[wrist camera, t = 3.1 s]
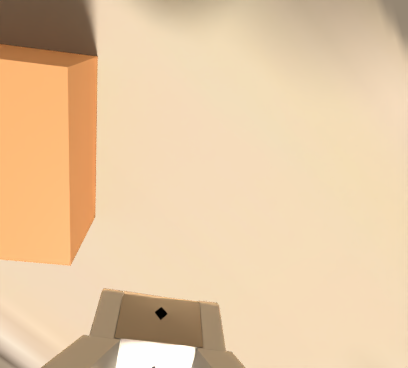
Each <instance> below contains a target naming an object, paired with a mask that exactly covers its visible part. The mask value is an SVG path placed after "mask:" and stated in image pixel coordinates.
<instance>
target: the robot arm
mask: <svg viewBox="0 0 408 368" xmlns="http://www.w3.org/2000/svg"><path fill="white" fill-rule="evenodd" d="M41 368H245V367H244V365H243V364H242V363H241V362H240V361H239V360H238V359H237V358H236V356H235V355H234V354H233V353H232V352H229V351H226V349H225V342H224V335H223V329H222V322H221V315H220V308H219V305H218V303H215V302H205V301H199V302H198V301H192V300H184V299H176V298H168V297H161V296H154V295H148V294H141V293H135V292H128V291H124V293H123V291H120V290H113V289H106V288H104V289H103V291H102V293H101V296H100V300H99V303H98V307H97V310H96V314H95V317H94V321H93V324H92V328H91V331H90V335H89V336H87V335H83V336H81V337H80V338H79V339H77V340H76V341H75V342H74V343H72V344H71V345H70V346H68V347H67V348H66V349H64V350H63V351H62V352H61V353H59V354H58V355H57V356H55V357H54V358H53V359H52V360H50V361H49V362H48V363H46V364H45V365H44V366H42V367H41Z"/></svg>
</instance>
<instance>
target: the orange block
mask: <svg viewBox="0 0 408 368" xmlns="http://www.w3.org/2000/svg"><path fill="white" fill-rule="evenodd" d="M97 59H98V56H90V55H83V54H75V53H67V52H59V51H51V50H43V49H36V48H28V47H20V46H12V45H4V44H0V259H2V260H13V261H24V262H36V263H47V264H58V265H70V266H71V264H72V262H73V260H74V258H75V256H76V254H77V252H78V250H79V248H80V246H81V244H82V242H83V240H84V238H85V236H86V234H87V232H88V230H89V228H90V226H91V224H92V222H93V220H94V218H95V192H96V126H97Z"/></svg>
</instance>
